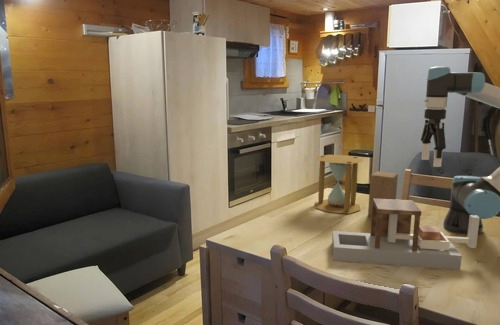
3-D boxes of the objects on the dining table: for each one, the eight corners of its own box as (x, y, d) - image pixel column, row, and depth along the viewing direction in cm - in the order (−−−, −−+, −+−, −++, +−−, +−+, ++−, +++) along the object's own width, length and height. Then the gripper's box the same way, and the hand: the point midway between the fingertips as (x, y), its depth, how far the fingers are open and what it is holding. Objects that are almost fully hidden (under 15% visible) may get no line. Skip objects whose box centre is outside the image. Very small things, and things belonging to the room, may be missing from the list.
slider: (469, 241, 151) (473, 212, 148) (479, 252, 141) (483, 221, 139) (385, 236, 155) (387, 207, 153) (390, 246, 146) (392, 216, 144)
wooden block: (394, 214, 197) (398, 173, 193) (389, 220, 189) (392, 177, 185) (373, 210, 202) (376, 170, 198) (367, 216, 194) (370, 174, 190)
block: (434, 242, 151) (435, 226, 150) (438, 248, 145) (440, 232, 144) (416, 241, 152) (418, 225, 151) (420, 247, 146) (422, 231, 145)
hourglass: (366, 204, 212) (370, 156, 207) (353, 217, 193) (356, 164, 188) (323, 197, 223) (325, 152, 218) (306, 208, 205) (308, 159, 200)
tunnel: (409, 237, 156) (412, 199, 153) (417, 251, 142) (421, 211, 140) (370, 234, 158) (372, 197, 155) (375, 248, 145) (378, 209, 142)
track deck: (446, 250, 156) (447, 238, 155) (460, 269, 140) (461, 255, 139) (332, 243, 162) (332, 231, 161) (333, 260, 147) (334, 247, 146)
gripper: (415, 106, 171) (411, 156, 175) (437, 110, 147) (432, 169, 151) (434, 106, 170) (429, 157, 175) (459, 111, 146) (453, 170, 150)
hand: (430, 163), depth 163 cm, fingers open, 13 cm apart
